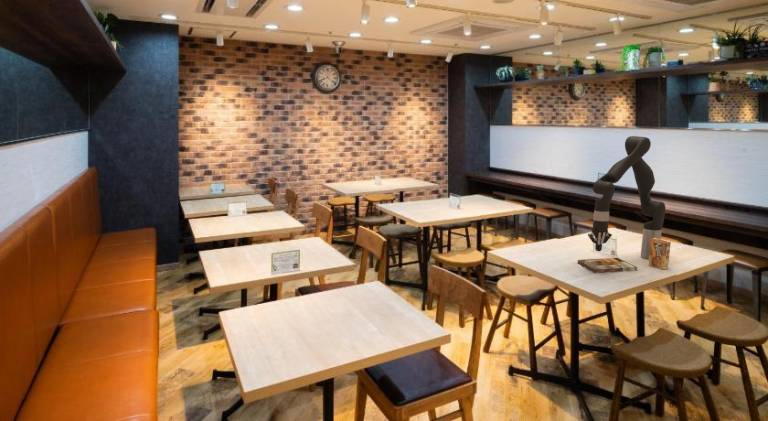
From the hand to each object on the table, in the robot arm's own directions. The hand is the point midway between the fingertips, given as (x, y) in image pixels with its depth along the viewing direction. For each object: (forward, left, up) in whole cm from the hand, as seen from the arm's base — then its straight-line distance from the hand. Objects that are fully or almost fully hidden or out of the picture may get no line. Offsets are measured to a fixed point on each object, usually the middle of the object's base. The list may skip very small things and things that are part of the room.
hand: (598, 250), depth 257 cm
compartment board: (-8, +1, -10) cm, 13 cm away
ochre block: (-6, +3, -8) cm, 11 cm away
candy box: (-29, +18, -11) cm, 36 cm away
